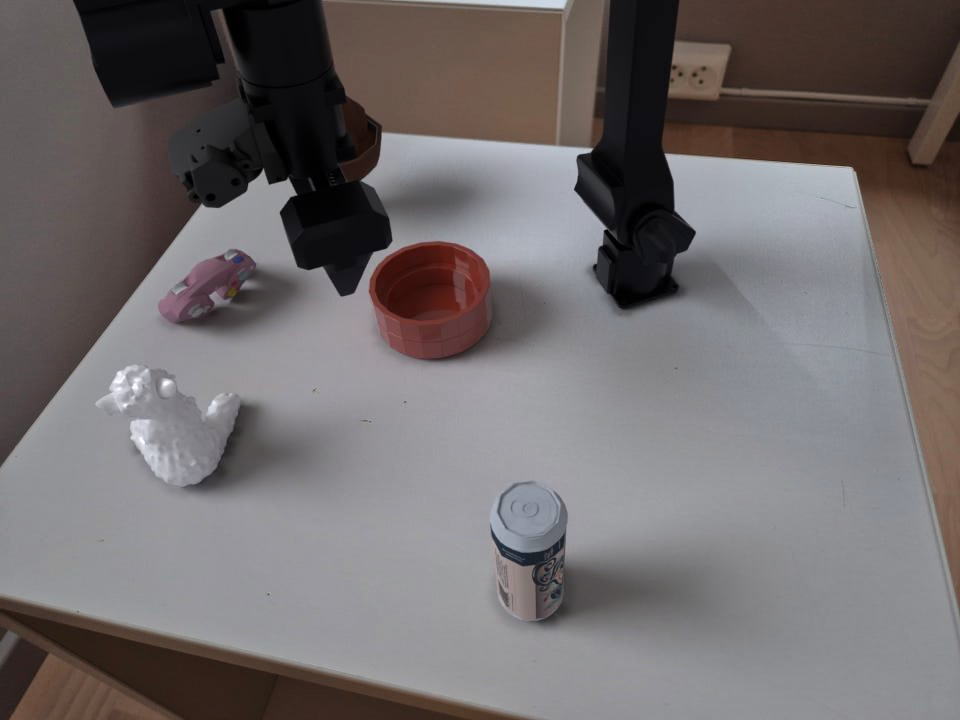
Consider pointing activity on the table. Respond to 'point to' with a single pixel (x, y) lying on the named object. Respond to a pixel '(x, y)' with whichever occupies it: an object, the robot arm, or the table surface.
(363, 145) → the ice cream bowl
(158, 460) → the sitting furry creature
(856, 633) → the table surface
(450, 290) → the red bowl
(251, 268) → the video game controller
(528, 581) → the beer can
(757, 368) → the table surface
